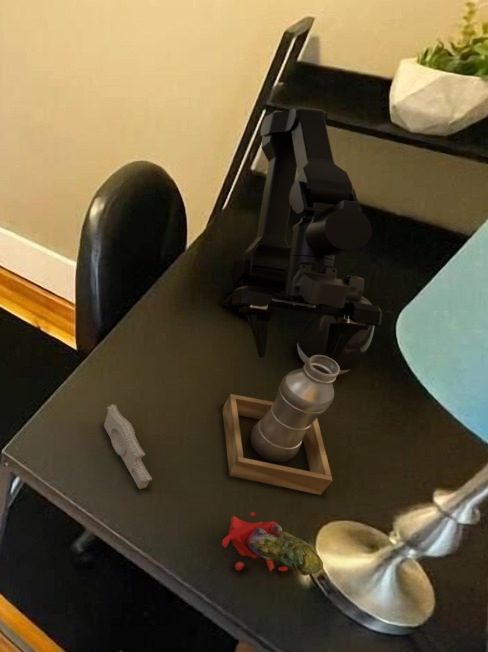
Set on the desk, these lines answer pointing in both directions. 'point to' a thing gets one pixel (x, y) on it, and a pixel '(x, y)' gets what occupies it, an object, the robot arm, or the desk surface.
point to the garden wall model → (126, 445)
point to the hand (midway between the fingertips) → (294, 363)
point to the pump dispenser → (316, 338)
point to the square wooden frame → (269, 472)
